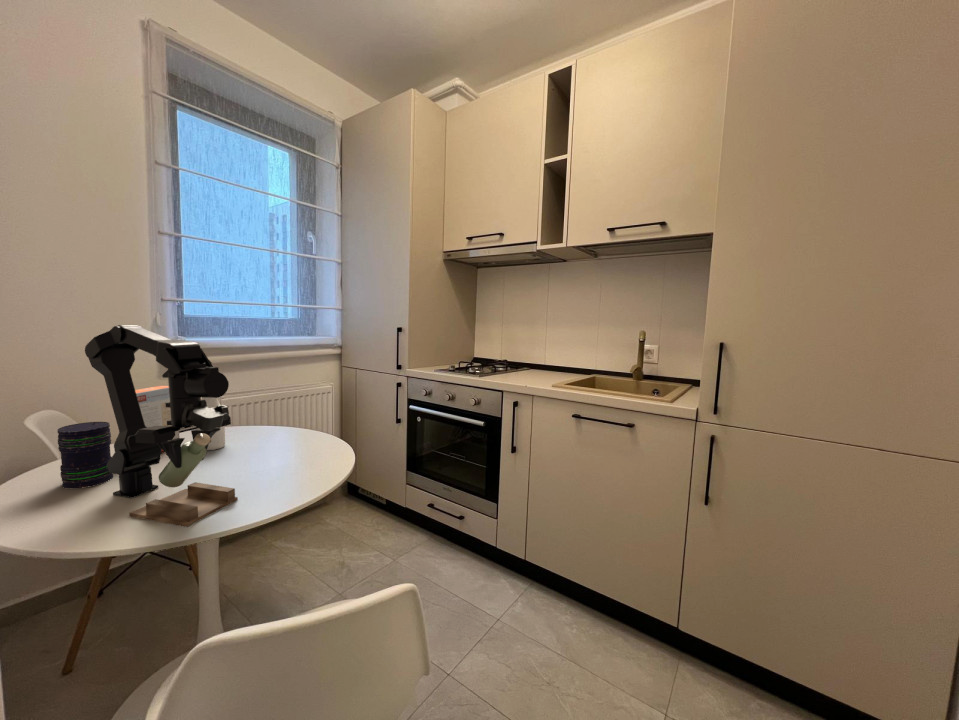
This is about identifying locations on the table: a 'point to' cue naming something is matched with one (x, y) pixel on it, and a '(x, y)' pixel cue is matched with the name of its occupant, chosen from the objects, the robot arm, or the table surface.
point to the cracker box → (154, 405)
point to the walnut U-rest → (187, 504)
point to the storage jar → (84, 454)
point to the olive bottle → (185, 461)
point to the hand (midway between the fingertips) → (190, 463)
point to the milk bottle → (219, 436)
